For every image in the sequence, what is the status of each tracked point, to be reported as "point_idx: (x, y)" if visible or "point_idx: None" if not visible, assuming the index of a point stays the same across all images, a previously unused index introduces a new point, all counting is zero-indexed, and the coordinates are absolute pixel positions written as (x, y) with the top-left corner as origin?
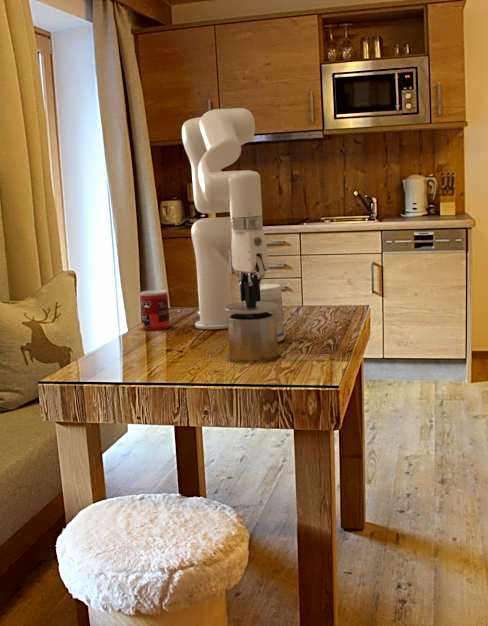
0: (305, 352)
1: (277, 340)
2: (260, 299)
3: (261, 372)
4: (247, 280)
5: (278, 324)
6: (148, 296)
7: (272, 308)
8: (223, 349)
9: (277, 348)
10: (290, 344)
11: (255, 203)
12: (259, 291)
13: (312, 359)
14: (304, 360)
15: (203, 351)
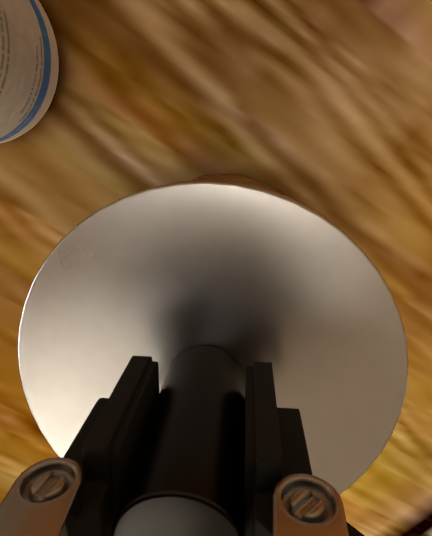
0: (296, 46)
1: (55, 41)
2: (271, 364)
3: (426, 359)
4: (81, 533)
5: (8, 2)
6: None
7: (398, 316)
8: (24, 279)
9: (284, 195)
10: (111, 2)
11: None
12: (276, 414)
13: (423, 102)
14: (410, 140)
15: (12, 346)
